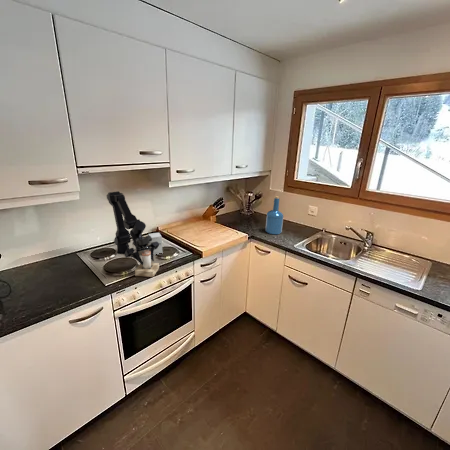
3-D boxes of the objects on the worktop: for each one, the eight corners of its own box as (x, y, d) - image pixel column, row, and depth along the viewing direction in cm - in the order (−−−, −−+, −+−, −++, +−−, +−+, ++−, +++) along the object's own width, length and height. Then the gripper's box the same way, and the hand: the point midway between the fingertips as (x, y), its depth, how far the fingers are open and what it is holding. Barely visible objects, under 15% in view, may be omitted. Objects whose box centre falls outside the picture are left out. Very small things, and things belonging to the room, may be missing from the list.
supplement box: (151, 256, 164) (150, 237, 160) (148, 251, 170) (147, 233, 166) (162, 254, 167) (161, 236, 163) (160, 249, 173) (159, 232, 169)
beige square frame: (135, 276, 141) (134, 270, 139) (142, 267, 150) (142, 262, 149) (153, 277, 140) (152, 272, 139) (159, 268, 149) (158, 263, 148)
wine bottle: (276, 228, 220) (280, 194, 210) (284, 234, 208) (289, 198, 198) (262, 230, 216) (265, 194, 206) (269, 235, 204) (273, 198, 194)
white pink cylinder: (141, 273, 143) (140, 253, 139) (145, 269, 147) (143, 250, 143) (150, 274, 142) (148, 254, 138) (153, 269, 147) (151, 250, 143)
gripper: (124, 235, 134) (135, 262, 130) (157, 228, 146) (167, 252, 142) (120, 244, 142) (130, 270, 138) (151, 236, 154) (161, 260, 150)
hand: (148, 262), depth 142 cm, fingers open, 6 cm apart
